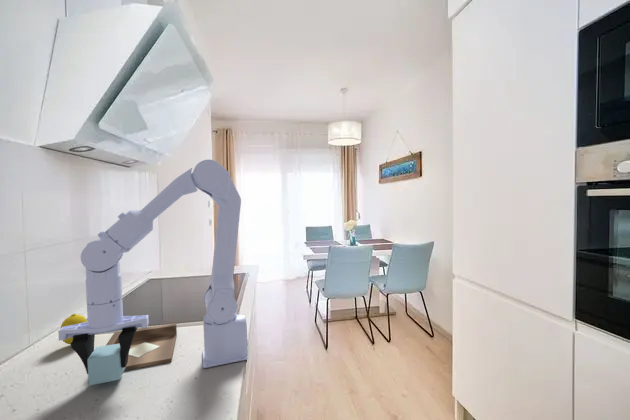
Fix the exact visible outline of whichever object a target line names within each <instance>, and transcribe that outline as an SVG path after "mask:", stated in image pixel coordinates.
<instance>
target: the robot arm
mask: <svg viewBox="0 0 630 420" xmlns="http://www.w3.org/2000/svg"><path fill="white" fill-rule="evenodd" d="M192 170H193V171H192ZM231 177H232V176H231V175H230V172H229V171H228V170H227V169H226V168H225V167H224V166H223V165H222V164H221V163H220V162H218V161H217V160H214V159H203V160H201V161H198V163H197V164H196V165H195V167H194V169H193V167H190V168H189V169H188V170H186V171H185V172H183V173H181V174H180V175H178V176H177V177H176V178H175V179H174V180H172V182H170V183H169V184H168V185H167V186H166V187H165V188H163V190H162V191H160V192H159V193H158V194H157V195H156V196H155V197H154V198H153V199H152V200H150V201H149V202H148V203H147V204H146V205H145V206H144V207H143V208H142V209H140V210H139V209H137V210H136V209H132V210H131V209H130V210H128V211H127V212H126V213H125V212H121V213H120V214H119V215H117V218H118V220H117V221H116V222H115V223H113V224H112V225H111V226H110V227H108V229H107V230H105V231H103V230H101V231H100V232H99V233H97V237H98V238H99V239H97V240H95V239H94V240H93V241H90V242H88V243H87V244H86V246H85V247H84V248H83V250H82V251H81V254H80V262H81V264H82V265H83V267H85V295H86V296H85V297H86V299H85V300H86V315H87V317H86V320H87V322H84V323H79V324H75V325H70V326H64V327H62V328H61V327H60V328H61V329H59V330H58V332H57V333H58V341H62V340H66V339H67V338H72V337H73V341H72V343H71V344H70V348H71V349H72V350H73V351H74V352H75V353H76V354H77V355H78V357H79V359H80V360H81V362H82V363H83V366H84V369H85V372H86V375H88V361H87V359H88V358H89V357H90V355H91V354H92V352H93V351H94V350H95V335H97V334H104V333H111V332H120V331H122V332H121V333H120V335H119V336H118V337H119V343H120V349H121V368H124V367H126V365H127V363H128V355H129V350H130V347H131V343H132V340H133V338H134V335H135V333H136V330H137V329H140V328H147V327H149V324H150V320H149V316H150V315H149V314H145V315H144V314H143V315H124V310H123V309H124V308H123V306H124V305H123V289H122V288H123V286H122V284H123V283H122V274H121V266H120V265H121V264H120V262H119V261H120V260H121V259H122V257H123V256H124V253H129V252H130V251H131V250H132V249H133V248H134V247H135V246H136V245H137V244H139V243H140V242H141V241H142V240H143V239H144V238H145V237H147V236H148V235H149V234H150V233H152V231H153V230H154V220H155V219H157V218H158V217H160V215H161V214H162V213H164V212H165V211H166V210H167V209H168V208H170V207H171V206H172V205H173V204H174V203H176V201H178V200H179V199H181V198H182V197H183V196H185V195H190V194H193V193H196V192H198V190H200V191H201V192H203V193H205V194H206V195H208V196H209V197H210V198H211V200H212V201H213V202H215V204H216V205H217V206H218V207H217V208H218V211H217V219H216V230H215V237H214V249H213V259H212V266H211V268H212V269H211V274H210V279H209V284H208V287H207V289H206V290H205V291H204V293H203V302H204V305H205V308H206V313H205V315H204V316H203V318H202V319H203V322H202V323H203V344H204V345H203V346H204V347H203V350H202V368H203V369H207V368H213V367H217V366H222V365H227V364H232V363H237V362H243V361H246V360H249V355H248V354H249V353H248V351H249V349H248V345H249V343H248V324H247V318H246V315H245V314H241V313H240V314H237V311H238V303H237V300H236V298H235V281H234V280H235V279H234V273H235V265H236V264H235V263H236V255H237V244H238V234H239V227H240V226H239V224H240V214H241V207H242V197H241V195H240V193H239V192H238V190H237V188H236V185H235V183H234V182H233V180H232V178H231Z"/></svg>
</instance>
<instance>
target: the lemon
mask: <svg viewBox="0 0 630 420" xmlns="http://www.w3.org/2000/svg"><path fill="white" fill-rule="evenodd" d="M84 322H88V320H87V317H85V316H83V315H81V314H77V313H72V314H71V315H70V316H68V317H66V318H65V319H64V320H62V323H61V326H60V329H61V328H62V327H64V326H70V325H75V324H79V323H84ZM60 329H59V330H60ZM61 341H63V342H64V343H65V344H68V345H71V343H72V341H73V337H72V338H67V339H66V340H61Z"/></svg>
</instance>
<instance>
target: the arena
mask: <svg viewBox="0 0 630 420" xmlns="http://www.w3.org/2000/svg"><path fill="white" fill-rule="evenodd" d="M121 332H122V330H119V331H114V333H113V334H112V336H111V337H110V338H109V339H108V341H107V343H106V345H105V346H107V345H113V344H119V337H118V336H119V335H120V333H121ZM177 337H178V331H177V323H169V324H168V323H167V324H162V325H157V326H148V327H147V328H141V327H139V328H137V330H136V333H135V335H134V338H133V340H132V343H131V347H130V350H129V355H128V363H127V365H126V367H125V369H124V372H125V371H130V370H135V369H139V368H145V367H151V366H156V365H162V364H167V363H171V362H172V360H173V355H174V352H175V347H176V341H177Z"/></svg>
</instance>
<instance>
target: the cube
mask: <svg viewBox="0 0 630 420" xmlns="http://www.w3.org/2000/svg"><path fill="white" fill-rule="evenodd" d="M87 361H88V374H87V376H88V377H87V378H88V381H87V382H88V386H93V385H98V384H103V383H107V382H108V383H109V382H114V381H118V380H121V378H122V375H123V374H124V372H125V371H124V369H125V367H124V368H121V349H120V343H119V344H113V345H107V346H106V345H101V346H96V347H94V351H93V352H92V354H91V355H90V357H89V358H88V359H87Z"/></svg>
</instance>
